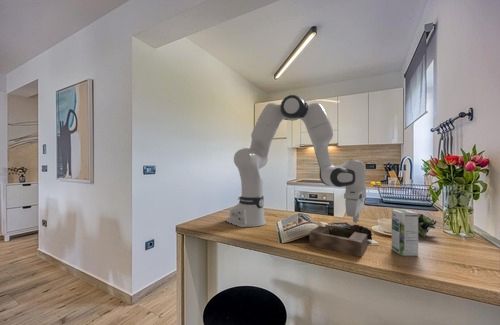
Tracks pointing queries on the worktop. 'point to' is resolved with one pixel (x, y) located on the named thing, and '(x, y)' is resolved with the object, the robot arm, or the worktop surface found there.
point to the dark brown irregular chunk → (349, 231)
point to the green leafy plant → (424, 224)
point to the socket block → (338, 241)
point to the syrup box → (405, 232)
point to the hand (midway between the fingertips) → (355, 222)
